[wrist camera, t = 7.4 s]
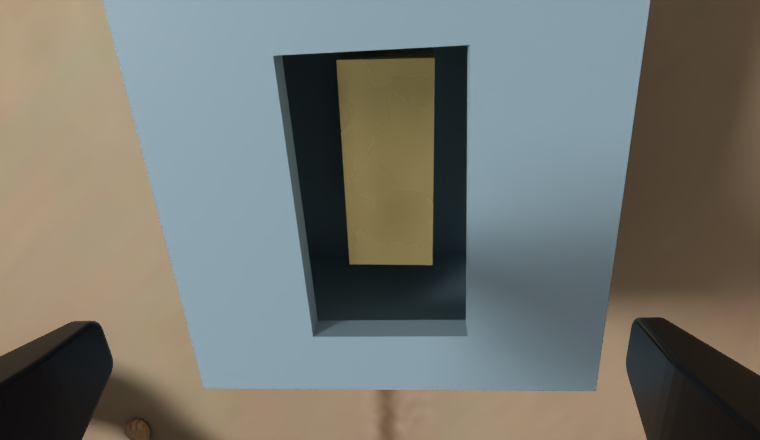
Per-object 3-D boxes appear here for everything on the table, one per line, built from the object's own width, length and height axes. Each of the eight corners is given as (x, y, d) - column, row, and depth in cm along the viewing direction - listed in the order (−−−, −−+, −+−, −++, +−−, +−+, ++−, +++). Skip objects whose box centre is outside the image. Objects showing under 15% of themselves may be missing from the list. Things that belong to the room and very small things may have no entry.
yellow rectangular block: (431, 199, 21) (432, 265, 16) (366, 199, 21) (349, 263, 16) (432, 34, 18) (434, 57, 14) (358, 36, 18) (336, 60, 14)
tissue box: (547, 269, 22) (595, 391, 16) (263, 273, 23) (203, 388, 17) (574, -58, 17) (660, -69, 11) (209, -32, 18) (95, -29, 12)
